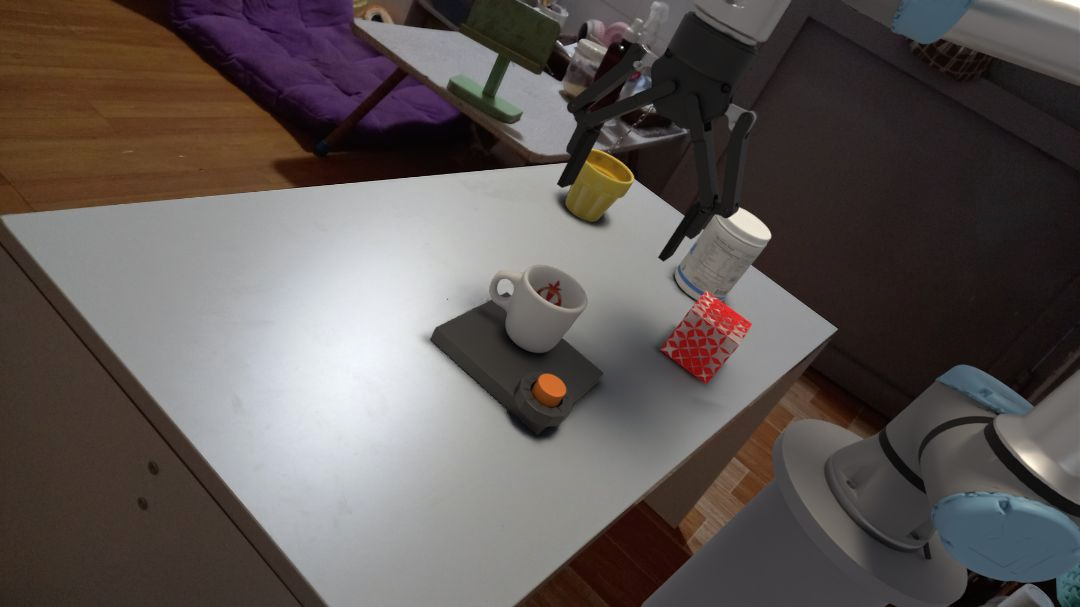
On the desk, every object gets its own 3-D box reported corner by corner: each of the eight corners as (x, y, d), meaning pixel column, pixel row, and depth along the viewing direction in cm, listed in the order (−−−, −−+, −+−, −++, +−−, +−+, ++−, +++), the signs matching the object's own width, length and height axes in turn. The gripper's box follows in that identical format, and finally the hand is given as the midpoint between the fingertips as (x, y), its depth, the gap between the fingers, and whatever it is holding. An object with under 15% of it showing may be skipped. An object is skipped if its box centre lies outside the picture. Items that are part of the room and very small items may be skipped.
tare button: (564, 399, 69) (571, 388, 68) (549, 412, 66) (556, 401, 65) (541, 380, 70) (548, 369, 69) (526, 392, 67) (533, 380, 66)
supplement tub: (678, 263, 116) (725, 196, 108) (724, 293, 115) (775, 227, 107) (667, 284, 108) (717, 212, 100) (715, 315, 107) (770, 246, 99)
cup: (465, 326, 73) (492, 272, 69) (487, 293, 80) (513, 242, 75) (549, 372, 73) (581, 321, 69) (564, 335, 80) (594, 287, 76)
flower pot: (614, 235, 113) (642, 188, 108) (563, 219, 109) (590, 170, 104) (599, 203, 121) (624, 158, 116) (550, 187, 116) (574, 140, 111)
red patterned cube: (677, 329, 97) (706, 290, 93) (720, 361, 96) (752, 323, 91) (659, 349, 91) (690, 309, 87) (706, 385, 89) (739, 345, 85)
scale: (603, 389, 78) (617, 369, 76) (539, 447, 66) (554, 425, 64) (501, 302, 83) (512, 282, 81) (423, 342, 71) (434, 319, 69)
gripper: (598, -44, 58) (507, 160, 69) (842, 102, 51) (698, 299, 63) (631, -34, 64) (543, 152, 75) (853, 98, 58) (720, 278, 69)
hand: (613, 219), depth 69 cm, fingers open, 13 cm apart
